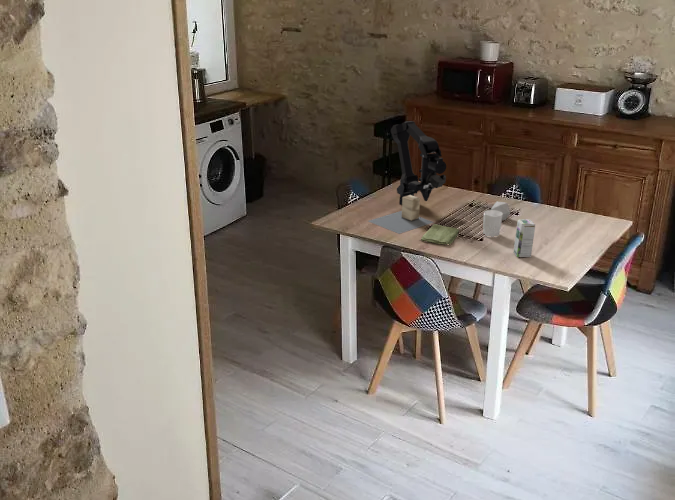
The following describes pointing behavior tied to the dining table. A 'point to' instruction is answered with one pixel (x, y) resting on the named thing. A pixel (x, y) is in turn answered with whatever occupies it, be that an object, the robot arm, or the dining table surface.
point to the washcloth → (440, 234)
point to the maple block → (410, 208)
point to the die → (502, 209)
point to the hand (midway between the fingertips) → (425, 200)
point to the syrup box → (524, 238)
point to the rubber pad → (399, 222)
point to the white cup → (492, 222)
